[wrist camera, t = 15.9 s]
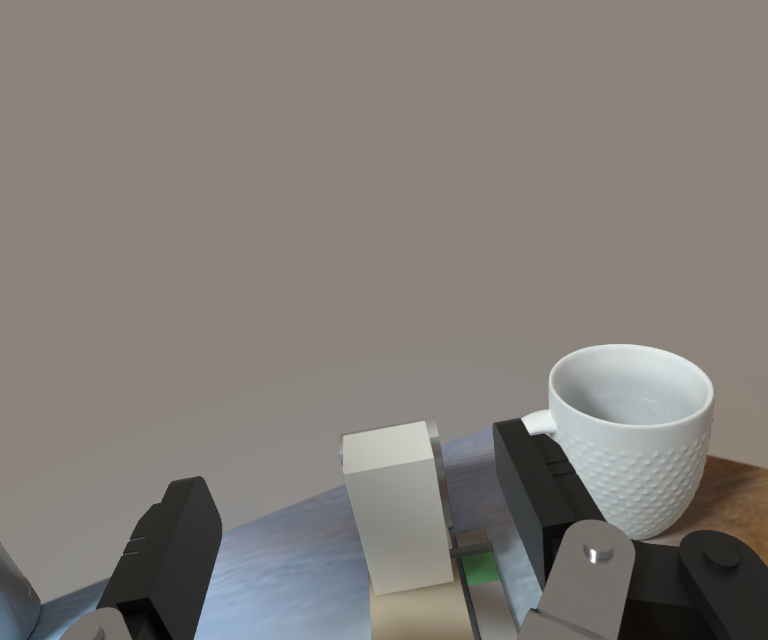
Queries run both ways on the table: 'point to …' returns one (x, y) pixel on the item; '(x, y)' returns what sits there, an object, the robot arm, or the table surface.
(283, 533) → the table surface
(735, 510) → the table surface
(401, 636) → the gauge base
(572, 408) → the mug
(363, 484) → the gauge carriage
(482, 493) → the table surface
